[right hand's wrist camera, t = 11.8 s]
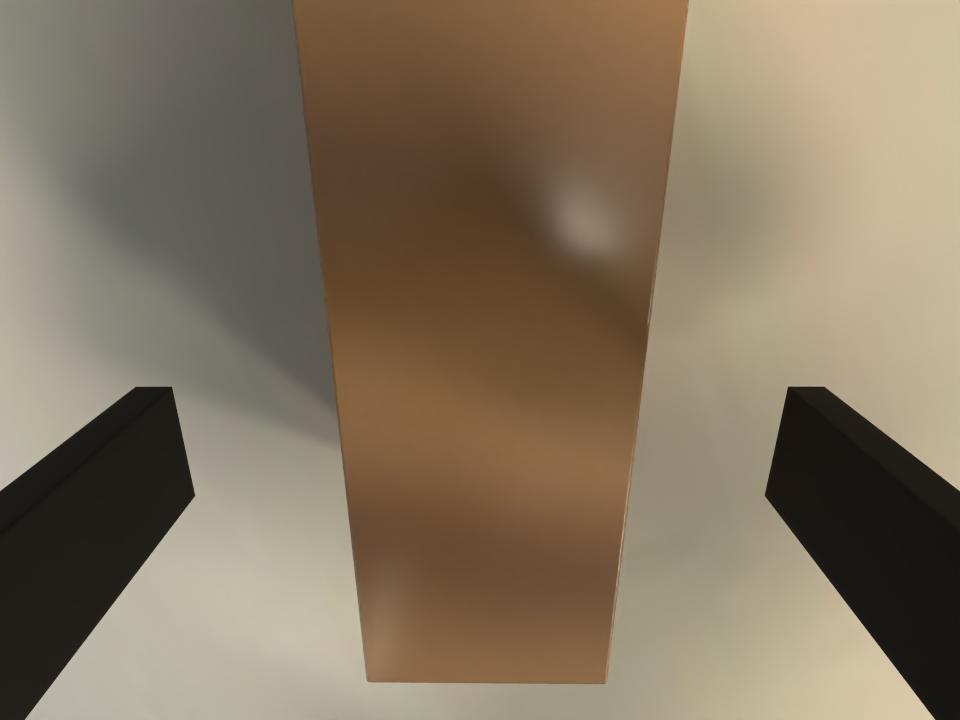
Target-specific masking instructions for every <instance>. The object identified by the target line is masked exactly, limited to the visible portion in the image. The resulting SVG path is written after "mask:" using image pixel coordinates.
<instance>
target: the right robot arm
mask: <svg viewBox="0 0 960 720" xmlns="http://www.w3.org/2000/svg"><path fill="white" fill-rule="evenodd" d="M194 497H195V493H194V488H193V483H192V479H191V474H190V469H189V465H188V460H187V455H186V451H185V446H184V441H183V437H182V432H181V427H180V423H179V418H178V413H177V409H176V404H175V399H174V395H173V390H172V387H135V388H134V389H132V390H131V391H130V392H128V393H127V394H126V395H125V396H123V397H122V398H121V399H119V400H118V401H117V402H115V403H114V404H113V405H112V406H110V407H109V408H108V409H106V410H105V411H104V412H102V413H101V414H100V415H99V416H97V417H96V418H95V419H93V420H92V421H91V422H90V423H88V424H87V425H86V426H84V427H83V428H82V429H80V430H79V431H78V432H77V433H75V434H74V435H73V436H71V437H70V438H69V439H67V440H66V441H65V442H64V443H62V444H61V445H60V446H58V447H57V448H56V449H54V450H53V451H52V452H51V453H49V454H48V455H47V456H45V457H44V458H43V459H42V460H40V461H39V462H38V463H36V464H35V465H34V466H32V467H31V468H30V469H29V470H27V471H26V472H25V473H23V474H22V475H21V476H19V477H18V478H17V479H16V480H14V481H13V482H12V483H10V484H9V485H8V486H6V487H5V488H4V489H3V490H1V491H0V720H25V719H26V717H27V716H28V715H29V713H30V712H31V711H32V709H33V708H34V707H35V705H36V704H37V703H38V702H39V700H40V699H41V698H42V696H43V695H44V694H45V692H46V691H47V690H48V688H49V687H50V686H51V684H52V683H53V682H54V681H55V679H56V678H57V677H58V675H59V674H60V673H61V671H62V670H63V669H64V667H65V666H66V665H67V663H68V662H69V661H70V660H71V658H72V657H73V656H74V654H75V653H76V652H77V650H78V649H79V648H80V646H81V645H82V644H83V642H84V641H85V640H86V638H87V637H88V636H89V635H90V633H91V632H92V631H93V629H94V628H95V627H96V625H97V624H98V623H99V621H100V620H101V619H102V617H103V616H104V615H105V614H106V612H107V611H108V610H109V608H110V607H111V606H112V604H113V603H114V602H115V600H116V599H117V598H118V596H119V595H120V594H121V593H122V591H123V590H124V589H125V587H126V586H127V585H128V583H129V582H130V581H131V579H132V578H133V577H134V575H135V574H136V573H137V571H138V570H139V569H140V568H141V566H142V565H143V564H144V562H145V561H146V560H147V558H148V557H149V556H150V554H151V553H152V552H153V550H154V549H155V548H156V547H157V545H158V544H159V543H160V541H161V540H162V539H163V537H164V536H165V535H166V533H167V532H168V531H169V529H170V528H171V527H172V525H173V524H174V523H175V522H176V520H177V519H178V518H179V516H180V515H181V514H182V512H183V511H184V510H185V508H186V507H187V506H188V504H189V503H190V502H191V501H192V499H193V498H194ZM765 497H766V498H767V499H768V501H769V502H770V503H771V504H772V506H773V507H774V508H775V510H776V511H777V512H778V514H779V515H780V516H781V518H782V519H783V520H784V522H785V523H786V524H787V525H788V527H789V528H790V529H791V531H792V532H793V533H794V535H795V536H796V537H797V539H798V540H799V541H800V543H801V544H802V545H803V547H804V548H805V549H806V550H807V552H808V553H809V554H810V556H811V557H812V558H813V560H814V561H815V562H816V564H817V565H818V566H819V568H820V569H821V570H822V571H823V573H824V574H825V575H826V577H827V578H828V579H829V581H830V582H831V583H832V585H833V586H834V587H835V589H836V590H837V591H838V593H839V594H840V595H841V596H842V598H843V599H844V600H845V602H846V603H847V604H848V606H849V607H850V608H851V610H852V611H853V612H854V614H855V615H856V616H857V617H858V619H859V620H860V621H861V623H862V624H863V625H864V627H865V628H866V629H867V631H868V632H869V633H870V635H871V636H872V637H873V638H874V640H875V641H876V642H877V644H878V645H879V646H880V648H881V649H882V650H883V652H884V653H885V654H886V656H887V657H888V658H889V660H890V661H891V662H892V663H893V665H894V666H895V667H896V669H897V670H898V671H899V673H900V674H901V675H902V677H903V678H904V679H905V681H906V682H907V683H908V684H909V686H910V687H911V688H912V690H913V691H914V692H915V694H916V695H917V696H918V698H919V699H920V700H921V702H922V703H923V704H924V705H925V707H926V708H927V709H928V711H929V712H930V713H931V715H932V716H933V717H934V719H935V720H960V491H959V490H957V489H956V488H955V487H954V486H952V485H951V484H950V483H948V482H947V481H946V480H944V479H943V478H942V477H941V476H939V475H938V474H937V473H935V472H934V471H933V470H931V469H930V468H929V467H928V466H926V465H925V464H924V463H922V462H921V461H920V460H918V459H917V458H916V457H915V456H913V455H912V454H911V453H909V452H908V451H907V450H906V449H904V448H903V447H902V446H900V445H899V444H898V443H896V442H895V441H894V440H893V439H891V438H890V437H889V436H887V435H886V434H885V433H883V432H882V431H881V430H880V429H878V428H877V427H876V426H874V425H873V424H872V423H870V422H869V421H868V420H867V419H865V418H864V417H863V416H861V415H860V414H859V413H858V412H856V411H855V410H854V409H852V408H851V407H850V406H848V405H847V404H846V403H845V402H843V401H842V400H841V399H839V398H838V397H837V396H835V395H834V394H833V393H832V392H830V391H829V390H828V389H826V388H825V387H788V390H787V395H786V399H785V404H784V409H783V413H782V418H781V423H780V427H779V432H778V437H777V441H776V446H775V451H774V455H773V460H772V465H771V469H770V474H769V479H768V483H767V488H766V493H765Z"/></svg>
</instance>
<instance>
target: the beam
mask: <svg viewBox="0 0 960 720" xmlns="http://www.w3.org/2000/svg"><path fill="white" fill-rule="evenodd" d="M688 4H689V0H292V8H293V17H294V26H295V35H296V44H297V53H298V62H299V71H300V80H301V89H302V98H303V108H304V117H305V126H306V135H307V144H308V153H309V162H310V171H311V180H312V189H313V198H314V207H315V216H316V225H317V234H318V243H319V252H320V261H321V270H322V280H323V289H324V298H325V307H326V316H327V325H328V334H329V343H330V352H331V361H332V370H333V379H334V388H335V397H336V406H337V415H338V424H339V433H340V442H341V451H342V461H343V470H344V479H345V488H346V497H347V506H348V515H349V524H350V533H351V542H352V551H353V560H354V569H355V578H356V587H357V596H358V605H359V614H360V623H361V632H362V642H363V651H364V660H365V669H366V678H367V681H368V682H404V683H548V684H605V683H606V681H607V673H608V665H609V657H610V649H611V640H612V632H613V624H614V616H615V607H616V599H617V591H618V583H619V574H620V566H621V558H622V549H623V541H624V533H625V525H626V516H627V508H628V500H629V492H630V483H631V475H632V467H633V458H634V450H635V442H636V434H637V425H638V417H639V409H640V401H641V392H642V384H643V376H644V368H645V359H646V351H647V343H648V334H649V326H650V318H651V310H652V301H653V293H654V285H655V277H656V268H657V260H658V252H659V243H660V235H661V227H662V219H663V210H664V202H665V194H666V186H667V177H668V169H669V161H670V153H671V144H672V136H673V128H674V119H675V111H676V103H677V95H678V86H679V78H680V70H681V62H682V53H683V45H684V37H685V28H686V20H687V12H688Z"/></svg>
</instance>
